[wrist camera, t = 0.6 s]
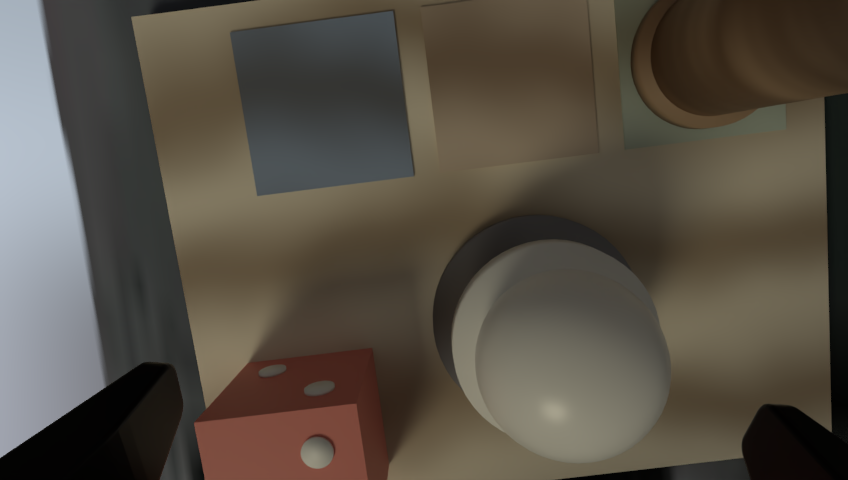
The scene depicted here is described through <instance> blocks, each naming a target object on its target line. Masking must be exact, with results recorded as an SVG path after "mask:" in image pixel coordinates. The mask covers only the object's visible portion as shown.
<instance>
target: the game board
mask: <svg viewBox="0 0 848 480" xmlns="http://www.w3.org/2000/svg"><path fill="white" fill-rule="evenodd" d="M657 1H658V0H257V1H249V2H242V3H234V4H227V5H219V6H212V7H204V8H197V9H189V10H181V11H174V12H166V13H159V14H151V15H144V16H136V17H131V18H132V23H133V28H134V34H135V39H136V44H137V49H138V55H139V60H140V65H141V70H142V75H143V81H144V86H145V91H146V96H147V102H148V107H149V112H150V117H151V123H152V128H153V133H154V138H155V143H156V149H157V154H158V159H159V164H160V170H161V175H162V180H163V185H164V191H165V196H166V201H167V206H168V211H169V217H170V222H171V227H172V232H173V238H174V243H175V248H176V253H177V259H178V264H179V269H180V274H181V279H182V285H183V290H184V295H185V300H186V306H187V311H188V316H189V321H190V326H191V332H192V337H193V342H194V347H195V353H196V358H197V363H198V368H199V374H200V379H201V384H202V389H203V394H204V400H205V405H206V409H207V408H208V407H209V406H210V405H211V403H212V402H213V401H214V400H215V399H216V398H217V397H218V396H219V395H220V393H221V392H222V391H223V390H224V389H225V388H226V387H227V386H228V385H229V383H230V382H231V381H232V380H233V379H234V378H235V377H236V376H237V375H238V373H239V372H240V371H241V370H242V369H243V368H244V367H245V366H246V365H247V363H251V362H259V361H268V360H276V359H284V358H293V357H301V356H309V355H317V354H326V353H334V352H342V351H351V350H359V349H367V348H372V349H373V356H374V363H375V370H376V377H377V384H378V391H379V398H380V405H381V412H382V419H383V426H384V433H385V439H386V446H387V453H388V460H389V470H388V478H387V480H555V479H564V478H573V477H581V476H590V475H599V474H607V473H616V472H625V471H633V470H642V469H651V468H659V467H668V466H677V465H685V464H694V463H703V462H711V461H720V460H729V459H737V458H743V454H742V448H741V446H742V438H743V436H744V434H745V432H746V430H747V429H748V427H749V425H750V423H751V421H752V420H753V418H754V416H755V414H756V412H757V411H758V409H759V408H760V407H761V406H762V405H764V404H768V403H769V404H784V405H791V406H794V407H796V408H798V409H799V410H801V411H802V412H803V413H805V414H806V415H808V416H809V417H811V418H812V419H813V420H815V421H816V422H818V423H819V424H820V425H822V426H823V427H825V428H826V429H827V430H829V431H830V432H832V425H831V380H830V335H829V290H828V245H827V199H826V154H825V109H824V97H821V98H815V99H809V100H804V101H798V102H792V103H786V104H781V105H775V106H769V107H764V108H758V109H757V110H755V111H754V112H753V113H752V114H750V115H748V116H747V117H745V118H743V119H741V120H739V121H737V122H735V123H732V124H729V125H725V126H720V127H714V128H707V129H687V128H682V127H678V126H675V125H672V124H670V123H668V122H666V121H664V120H662V119H661V118H659V117H658V116H656V115H655V114H654V113H653V112H652V111H651V110H650V109H649V108H648V107H647V106H646V105H645V103H644V102H643V101H642V99H641V98H640V96H639V94H638V92H637V90H636V87H635V85H634V82H633V78H632V73H631V48H632V43H633V39H634V36H635V33H636V31H637V28H638V26H639V24H640V23H641V21H642V19H643V17H644V16H645V15H646V13H647V12H648V11H649V9H650V8H651V7H652V6H653V5H654V4H655V3H656V2H657ZM549 239H557V240H568V241H573V242H578V243H582V244H585V245H587V246H590V247H593V248H595V249H597V250H599V251H601V252H603V253H605V254H607V255H609V256H611V257H613V258H615V259H616V260H618V261H619V262H621V263H622V264H623V265H625V266H626V267H627V268H628V269H629V270H630V271H632V272H633V273H634V274H635V275H636V276H637V278H638V279H639V280H640V281H641V283H642V284H643V285H644V287H645V288H646V290H647V291H648V293H649V295H650V296H651V299H652V301H653V303H654V305H655V308H656V311H657V314H658V318H659V322H660V327H661V329H662V332H663V334H664V336H665V339H666V343H667V346H668V350H669V353H670V360H671V383H670V390H669V395H668V398H667V402H666V405H665V407H664V409H663V412H662V414H661V416H660V417H659V419H658V421H657V422H656V424H655V425H654V426H653V428H652V429H651V430H650V431H649V433H648V434H647V435H646V436H645V437H644V438H643V439H642V440H641V441H640V442H638V443H637V444H636V445H634V446H633V447H632V448H630V449H629V450H627V451H625V452H623V453H621V454H619V455H617V456H615V457H612V458H609V459H606V460H602V461H598V462H592V463H580V464H577V463H565V462H560V461H555V460H551V459H548V458H545V457H542V456H539V455H537V454H535V453H533V452H531V451H529V450H528V449H526V448H525V447H523V446H521V445H520V444H518V443H517V442H516V441H514V440H513V439H512V438H511V437H510V436H508V435H507V434H506V433H505V432H503V431H501V430H500V429H498V428H496V427H495V426H493V425H492V424H491V423H489V422H488V421H487V420H486V419H485V418H483V417H482V416H481V415H480V414H479V412H478V411H477V410H476V409H475V408H474V407H473V406H472V404H471V403H470V401H469V400H468V398H467V397H466V395H465V393H464V391H463V389H462V387H461V385H460V383H459V380H458V377H457V374H456V370H455V365H454V360H453V354H452V344H451V332H452V322H453V318H454V313H455V310H456V307H457V304H458V301H459V299H460V297H461V295H462V293H463V291H464V289H465V288H466V286H467V285H468V283H469V282H470V281H471V279H472V278H473V277H474V275H475V274H476V273H477V272H478V271H479V270H480V269H481V268H482V267H483V266H484V265H486V264H487V263H488V262H489V261H490V260H491V259H493V258H495V257H496V256H498V255H499V254H501V253H502V252H504V251H506V250H509V249H511V248H513V247H515V246H518V245H521V244H524V243H527V242H532V241H538V240H549Z"/></svg>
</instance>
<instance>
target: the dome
mask: <svg viewBox="0 0 848 480" xmlns="http://www.w3.org/2000/svg"><path fill="white" fill-rule="evenodd" d="M451 344H452V354H453V360H454V365H455V370H456V374H457V377H458V380H459V383H460V385H461V387H462V389H463V391H464V393H465V395H466V397H467V398H468V400H469V401H470V403H471V404H472V406H473V407H474V408H475V409H476V410H477V411H478V412H479V414H480V415H481V416H482V417H483V418H485V419H486V420H487V421H488V422H489V423H491V424H492V425H493V426H495V427H496V428H498V429H500V430H501V431H503V432H505V433H506V434H507V435H508V436H510V437H511V438H512V439H513V440H514V441H516V442H517V443H518V444H520V445H521V446H523V447H525V448H526V449H528V450H529V451H531V452H533V453H535V454H537V455H539V456H542V457H545V458H548V459H551V460H555V461H560V462H565V463H577V464H580V463H592V462H598V461H602V460H606V459H609V458H612V457H615V456H617V455H619V454H621V453H623V452H625V451H627V450H629V449H630V448H632V447H633V446H634V445H636V444H637V443H638V442H640V441H641V440H642V439H643V438H644V437H645V436H646V435H647V434H648V433H649V431H650V430H651V429H652V428H653V426H654V425H655V424H656V422H657V421H658V419H659V417H660V416H661V414H662V412H663V409H664V407H665V405H666V402H667V398H668V395H669V390H670V383H671V360H670V353H669V350H668V346H667V343H666V339H665V336H664V334H663V332H662V329H661V327H660V322H659V318H658V314H657V311H656V308H655V305H654V303H653V301H652V299H651V296H650V295H649V293H648V291H647V290H646V288H645V287H644V285H643V284H642V283H641V281H640V280H639V279H638V278H637V276H636V275H635V274H634V273H633V272H632V271H630V270H629V269H628V268H627V267H626V266H625V265H623V264H622V263H621V262H619V261H618V260H616V259H615V258H613V257H611V256H609V255H607V254H605V253H603V252H601V251H599V250H597V249H595V248H593V247H590V246H587V245H585V244H582V243H578V242H573V241H568V240H557V239H549V240H538V241H532V242H527V243H524V244H521V245H518V246H515V247H513V248H511V249H509V250H506V251H504V252H502V253H501V254H499V255H498V256H496V257H495V258H493V259H491V260H490V261H489V262H488V263H487V264H486V265H484V266H483V267H482V268H481V269H480V270H479V271H478V272H477V273H476V274H475V275H474V277H473V278H472V279H471V281H470V282H469V283H468V285H467V286H466V288H465V289H464V291H463V293H462V295H461V297H460V299H459V301H458V304H457V307H456V310H455V313H454V318H453V322H452V332H451Z"/></svg>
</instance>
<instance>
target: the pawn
mask: <svg viewBox="0 0 848 480" xmlns="http://www.w3.org/2000/svg"><path fill="white" fill-rule="evenodd" d="M631 73H632V78H633V82H634V85H635V87H636V90H637V92H638V94H639V96H640V98H641V99H642V101H643V102H644V103H645V105H646V106H647V107H648V108H649V109H650V110H651V111H652V112H653V113H654V114H655V115H656V116H658V117H659V118H661V119H662V120H664V121H666V122H668V123H670V124H672V125H675V126H678V127H682V128H687V129H707V128H714V127H720V126H725V125H729V124H732V123H735V122H737V121H739V120H741V119H743V118H745V117H747V116H748V115H750V114H752V113H753V112H754V111H755V110H757V109H758V108H764V107H769V106H775V105H781V104H786V103H792V102H798V101H804V100H809V99H815V98H821V97H826V96H832V95H838V94H844V93H848V0H658V1H657V2H656V3H655V4H654V5H653V6H652V7H651V8H650V9H649V11H648V12H647V13H646V15H645V16H644V17H643V19H642V21H641V23H640V24H639V26H638V28H637V31H636V33H635V36H634V39H633V43H632V48H631Z"/></svg>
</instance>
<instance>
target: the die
mask: <svg viewBox="0 0 848 480" xmlns="http://www.w3.org/2000/svg"><path fill="white" fill-rule="evenodd" d="M194 425H195V430H196V435H197V440H198V446H199V451H200V456H201V461H202V466H203V471H204V476H205V480H387V478H388V470H389V460H388V453H387V446H386V439H385V433H384V426H383V419H382V412H381V405H380V398H379V391H378V384H377V377H376V370H375V363H374V356H373V349H372V348H367V349H359V350H351V351H342V352H334V353H326V354H317V355H309V356H301V357H293V358H284V359H276V360H268V361H259V362H251V363H247V365H246V366H245V367H244V368H243V369H242V370H241V371H240V372H239V373H238V375H237V376H236V377H235V378H234V379H233V380H232V381H231V382H230V383H229V385H228V386H227V387H226V388H225V389H224V390H223V391H222V392H221V393H220V395H219V396H218V397H217V398H216V399H215V400H214V401H213V402H212V403H211V405H210V406H209V407H208V408H207V409H206V410H205V411H204V412H203V413H202V414H201V416H200V417H199V418H198V419H197V420H196V421H195V422H194Z"/></svg>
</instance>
